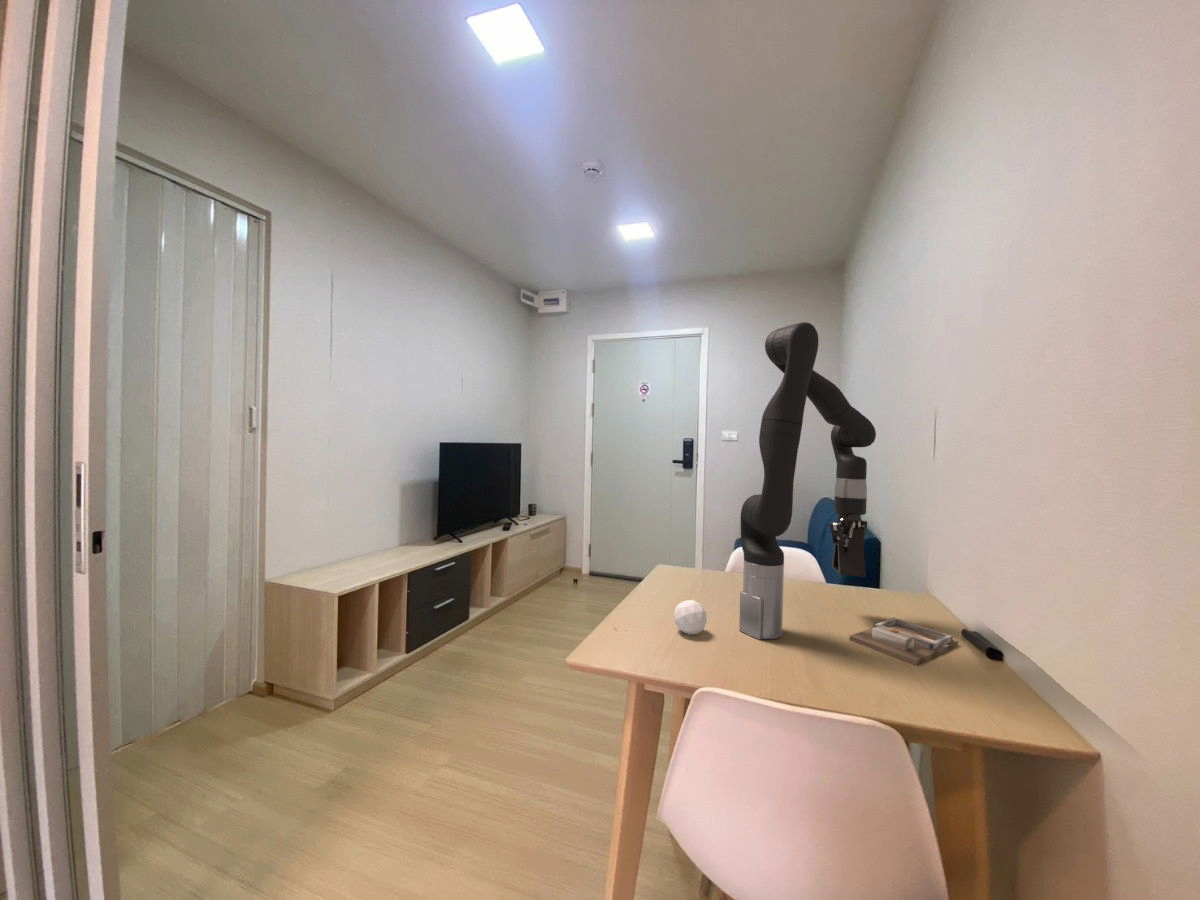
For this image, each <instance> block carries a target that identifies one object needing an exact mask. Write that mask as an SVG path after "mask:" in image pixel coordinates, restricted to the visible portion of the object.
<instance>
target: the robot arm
mask: <svg viewBox="0 0 1200 900" xmlns="http://www.w3.org/2000/svg"><path fill="white" fill-rule="evenodd" d="M819 342H820V341H819V334H818V331H817V329H816V327H815V326H814V325H813V324H812V323H811V322H804V321H803V322H799V323H794V324H790V325H787V326H783V327H780V328H776V329H775V330H773V331H771V332H770V333H769V334H768V335H767V336H766V339H765V342H764V343H765V344H764V350H765V353H766V356H767V358H768V359H769V360H770V361H771V363H772V364H773V365H774V366H775V367H776V368H777V369H779V371H781V372H782V373H783V377H782V379H781V382H780V384H779V386H778V388H777V389H776V391H775V393H774V394H773V396H772V397H771V398H770V400H769V402H768V403H767V406H766V407H765V409H764V410H763V413H762V418H761V423H760V428H759V429H760V430H759V436H758V445H759V452H760V457H761V461H762V464H763V474H764V475H763V484H762V490H761V494H753V495H751V496H749V497H747V498H746V500H744V502H743V503H742V506H741V510H740V547H741V548H742V552H743V573H742V574H743V576H742V578H743V579H742V580H743V581H742V591H740V592H739V593H740V594H739V622H738V624H739V628H738V629H739V630H738V631H740V632H742V633H745V634H747V635H748V636H751V637H753V638H755V639H758V640H775V639H776V640H777V639H780V638H781V637H782V636H783V618H784V617H783V613H784V610H783V609H784V607H783V606H784V573H785V570H784V569H785V568H784V567H785V554H784V551H783V549H782V548H781V547H780V545H779V543H778V540H777V537H779V536H781V535H783V534H785V533H786V531H787V530H788V529H789V526H790V524H791V521H792V516H793V505H794V504H793V503H794V481H795V473H796V466H797V461H798V460H797V458H798V453H799V452H798V451H799V446H800V442H801V435H802V430H803V429H802V428H803V422H804V412H805V408H806V407H805V406H806V402H807V398H808V399H809V401H810V402H811V403H812V404H813V406H814V407H815V409H816V410H817V412H818V413H819V414H820V416H821V417H822V418H823V419H824V421H825V422H826V423H827V424H829V425H832V426H833V427H832V429H831V433H830V441H831V446H832V449H833V453H834V454H833V455H834V457H835V461H836V475H835V483H834V499H833V500H834V503H833V511H834V512H835V513H837V514H838V517H837V520H836V521H835V522H833V521H831V522H830V524H829V527H830V531H831V538H832V539H831V540H832V543H833V545H834V544H837V545H838V549H839V547H840V548H841V549H842V554H843V556H844V553H845V551H846V554H847V551H848V544H849V539H851V538H852V534H853V529H854V528H855V527H858V528H860V527H861V528H863V532H864V535H863V543H864V542H865V537H866V534H867V533H866V532H867V528H868V521H867V520H862V516H865V515H866V514H867V499H868V498H867V497H868V487H867V468H868V466H867V465H868V464H867V462H868V461H867V460H866V459H865V458H864V457H862V456H859V455H858V456H857V455H855V453H854V450H853V449H852V448H867V447H869V446H870V447H871V445H872V444H873V443H875V440H876V438H877V431H876V428H875V426H874V424H873V423H872V421H871V420H869V419H868V418H867V417H866V416H865V415H864V414H862V413H861V412H860V411H858V409H857V408H855V407H853V406H852V404H851V403H850V402H849V401H848V399H847V397H846V396H845V395H844V393H843V392H842V390H840V387H838V386H837V385H836V384H835V383H833V382H832V381H831V380H829V379H828V378H826V377H825V376H824V375H821V373H819V372H817V371H815V370H814V367H815V362H816V359H817V355H818V351H819ZM843 532H844V533H846V534H847V535H844V534H843ZM836 536H837V537H838V539H837V537H836ZM844 538H845V542H844Z"/></svg>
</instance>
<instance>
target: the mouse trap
mask: <svg viewBox="0 0 1200 900" xmlns="http://www.w3.org/2000/svg"><path fill="white" fill-rule="evenodd" d="M953 638H954V637H953V635H950V634H948V633H944V632H941V631H937V630H935V629H932V628H931V629H930V628H927V627H925V626H921V625H919V624H916V623H911V622H908V621H905V620H902V619H899V618H896V617H892V618H889V619H887V620H883V621H880V622H877V623H875V624H873V627H871V628H867V629H865V630H862V631H859V632H857V633H853V634H851V635H849V641H851V640H852V642H854V641H855V642H854V643H856V642H857V643H856V644H859V643H860V644H859V645H862V644H863V645H862V646H864V645H865V646H864V647H867V648H870V649H873V650H875V651H878V652H881V653H883V654H886V655H888V656H891V657H894V658H896V659H899V660H901V661H904V662H906V663H909V664H912V665H915V666H918V665H920V664H922V663H924V662H926V661H928V660H931V659H934V657H937V656H939V655H942V654H944V653H945V652H948V651H950V650H952V649H954V648H956V647H958V646H959V640H956V639H953Z"/></svg>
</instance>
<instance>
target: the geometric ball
mask: <svg viewBox="0 0 1200 900" xmlns="http://www.w3.org/2000/svg"><path fill="white" fill-rule="evenodd" d="M707 617H708V616H707V611H706V610H705V608H704V606H703V605H702V604H701V603H699V602H697V601H695V600H694V599H692V600H691V599H690V600H683V601H682V602H680V603H678V604H677V605H676V607H675V610H674V612H673V619H674V620H673V622H674V624H675V625H676V626H677V628H678V629H679V631H681V632H682V633H684V634H686V633H687V634H688V635H697V634H699V633H700V632H702V631H703V630H704V629H705V627H706V625H707V621H708V620H707ZM687 634H686V635H687Z"/></svg>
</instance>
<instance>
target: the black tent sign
mask: <svg viewBox="0 0 1200 900" xmlns="http://www.w3.org/2000/svg"><path fill="white" fill-rule="evenodd" d="M843 534H844V535H847V534H846V533H844V532H843ZM863 535H864V532H863V528H861V527H860V528H858V527H855V528H854V529H853V534H852V538H851V539H849V544H848V551H847V554H846V551H845V553H844V556H843V554H842V549H841V548H840V547H839V549H838V545H837V544H834V543H833V545H834V547H833V552H832V560H831V567H832V569H834V570H835V571H836V572H837V573H838V574H839V575H842V576H843V575H844V576H853V577H862V578H866V576H867V574H866V573H867V572H866V560H865V546H864V542H863ZM836 537H837V536H836ZM837 539H838V537H837ZM844 542H845V538H844Z"/></svg>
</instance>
